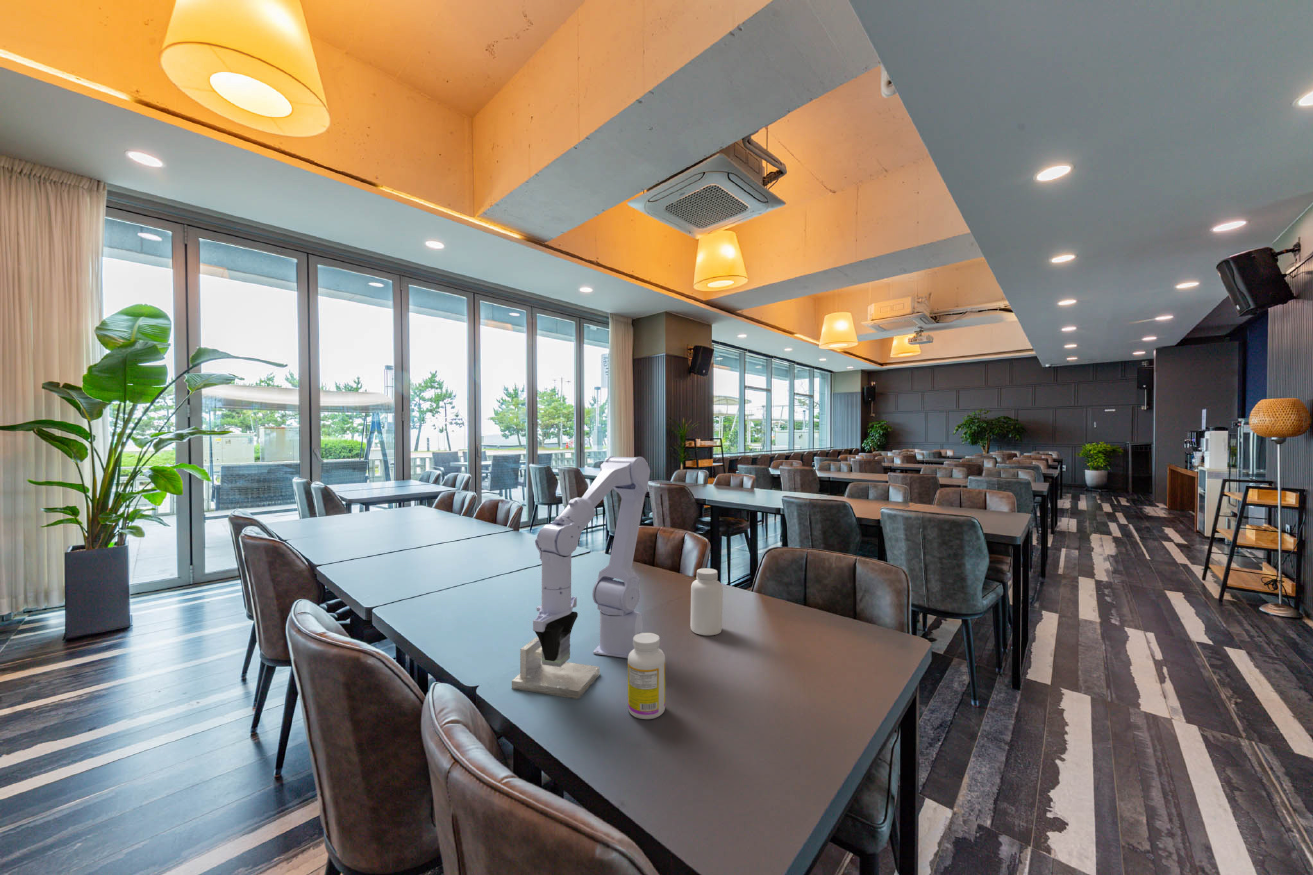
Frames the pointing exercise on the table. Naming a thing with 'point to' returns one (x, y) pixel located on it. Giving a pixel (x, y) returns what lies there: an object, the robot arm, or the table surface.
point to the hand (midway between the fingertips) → (556, 654)
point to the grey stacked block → (560, 651)
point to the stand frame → (552, 674)
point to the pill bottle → (706, 603)
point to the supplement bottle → (646, 677)
